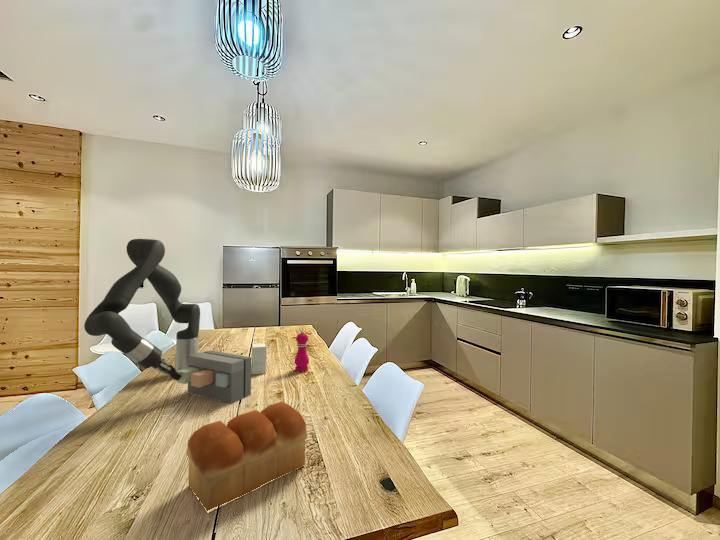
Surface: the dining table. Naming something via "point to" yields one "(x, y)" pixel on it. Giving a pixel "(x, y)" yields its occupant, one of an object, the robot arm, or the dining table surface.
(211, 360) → the keypad console
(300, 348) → the pepper mill
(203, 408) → the dining table surface
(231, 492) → the bread
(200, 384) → the terracotta key
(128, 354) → the robot arm
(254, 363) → the small box
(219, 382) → the grey rectangular block
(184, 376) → the sage key
